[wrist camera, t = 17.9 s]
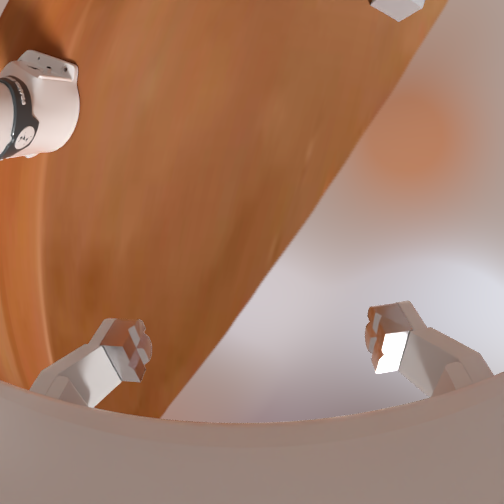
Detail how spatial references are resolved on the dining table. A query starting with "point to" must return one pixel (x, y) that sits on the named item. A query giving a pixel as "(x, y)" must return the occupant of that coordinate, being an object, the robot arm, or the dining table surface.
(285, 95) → the dining table surface
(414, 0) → the grey block
